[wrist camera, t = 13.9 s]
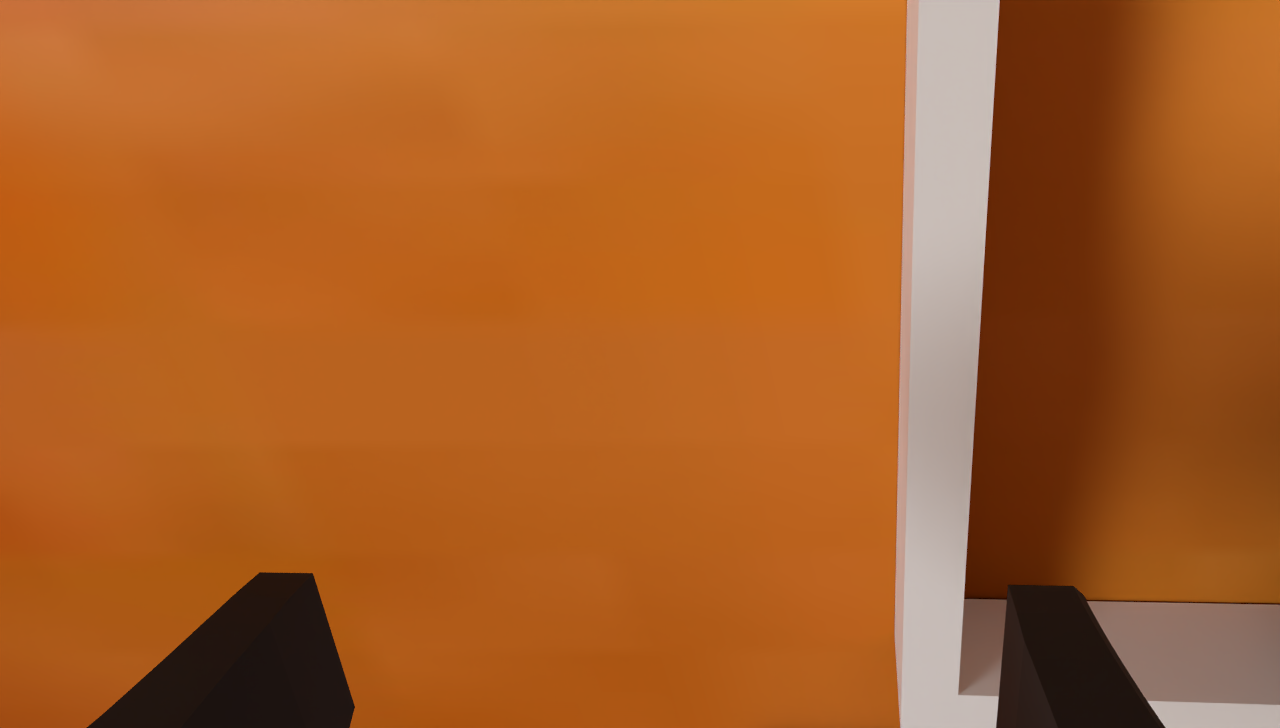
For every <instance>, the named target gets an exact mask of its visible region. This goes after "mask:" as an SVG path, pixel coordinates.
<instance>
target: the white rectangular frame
mask: <svg viewBox="0 0 1280 728" xmlns="http://www.w3.org/2000/svg"><path fill="white" fill-rule="evenodd" d="M999 4H1000V0H907V38H906V88H905V138H904V189H903V239H902V289H901V340H900V390H899V440H898V491H897V541H896V591H895V648H896V664H897V680H898V696H899V712H900V728H996V722H997V711H998V699H999V687H1000V675H1001V663H1002V652H1003V640H1004V628H1005V616H1006V604H1007V600H997V599H964V590H965V573H966V556H967V539H968V523H969V506H970V489H971V473H972V456H973V439H974V422H975V406H976V389H977V372H978V355H979V339H980V322H981V305H982V289H983V272H984V255H985V238H986V222H987V205H988V188H989V171H990V155H991V138H992V121H993V105H994V88H995V71H996V54H997V38H998V21H999ZM1087 603H1088V604H1089V606H1090V608H1091V610H1092V612H1093V614H1094V615H1095V617H1096V619H1097V621H1098V622H1099V624H1100V626H1101V628H1102V630H1103V631H1104V633H1105V635H1106V636H1107V638H1108V640H1109V641H1110V643H1111V645H1112V646H1113V648H1114V650H1115V651H1116V653H1117V655H1118V656H1119V658H1120V659H1121V661H1122V663H1123V664H1124V666H1125V667H1126V669H1127V671H1128V672H1129V674H1130V675H1131V677H1132V678H1133V680H1134V681H1135V683H1136V684H1137V686H1138V688H1139V689H1140V691H1141V692H1142V694H1143V695H1144V697H1145V698H1146V700H1147V701H1148V703H1149V704H1150V706H1151V707H1152V709H1153V710H1154V712H1155V713H1156V715H1157V716H1158V718H1159V719H1160V721H1161V722H1162V723H1163V725H1164V726H1165V728H1280V605H1267V604H1213V603H1159V602H1105V601H1087Z"/></svg>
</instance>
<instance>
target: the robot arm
mask: <svg viewBox="0 0 1280 728" xmlns="http://www.w3.org/2000/svg"><path fill="white" fill-rule="evenodd" d="M354 708H355V706H354V703H353V700H352V697H351V693H350V690H349V687H348V684H347V681H346V678H345V674H344V671H343V668H342V665H341V662H340V658H339V655H338V652H337V649H336V646H335V643H334V639H333V636H332V633H331V630H330V627H329V624H328V620H327V617H326V614H325V611H324V608H323V604H322V601H321V598H320V595H319V592H318V589H317V585H316V582H315V579H314V576H313V573H259V574H258V575H256V576H255V577H254V578H253V579H252V580H251V581H249V582H248V583H247V584H246V585H245V586H244V587H242V588H241V589H240V590H239V591H238V592H237V593H236V594H235V595H233V596H232V597H231V598H230V599H229V600H228V601H227V602H226V603H225V604H224V605H222V606H221V607H220V608H219V609H218V610H217V611H216V612H215V613H214V614H213V615H212V616H211V617H209V618H208V619H207V620H206V621H205V622H204V623H203V624H202V625H201V626H200V627H199V628H198V629H196V630H195V631H194V632H193V633H192V634H191V635H190V636H189V637H188V638H187V639H186V640H185V641H183V642H182V643H181V644H180V645H179V646H178V647H177V648H176V649H175V650H174V651H173V652H172V653H170V654H169V655H168V656H167V657H166V658H165V659H164V660H163V661H162V662H161V663H159V664H158V665H157V666H156V667H155V668H154V669H153V670H152V671H151V672H149V673H148V674H147V675H146V676H145V677H144V678H143V679H142V680H141V681H139V682H138V683H137V684H136V685H135V686H134V687H133V688H132V689H131V690H129V691H128V692H127V693H126V694H125V695H124V696H123V697H122V698H121V699H119V700H118V701H117V702H116V703H115V704H114V705H113V706H112V707H111V708H109V709H108V710H107V711H106V712H105V713H104V714H103V715H101V716H100V717H99V718H98V719H97V720H95V721H94V722H93V723H92V724H91V725H89V726H88V727H87V728H349V727H350V723H351V719H352V715H353V712H354ZM996 728H1165V726H1164V725H1163V723H1162V722H1161V721H1160V719H1159V718H1158V716H1157V715H1156V713H1155V712H1154V710H1153V709H1152V707H1151V706H1150V704H1149V703H1148V701H1147V700H1146V698H1145V697H1144V695H1143V694H1142V692H1141V691H1140V689H1139V688H1138V686H1137V684H1136V683H1135V681H1134V680H1133V678H1132V677H1131V675H1130V674H1129V672H1128V671H1127V669H1126V667H1125V666H1124V664H1123V663H1122V661H1121V659H1120V658H1119V656H1118V655H1117V653H1116V651H1115V650H1114V648H1113V646H1112V645H1111V643H1110V641H1109V640H1108V638H1107V636H1106V635H1105V633H1104V631H1103V630H1102V628H1101V626H1100V624H1099V622H1098V621H1097V619H1096V617H1095V615H1094V614H1093V612H1092V610H1091V608H1090V606H1089V604H1088V603H1087V601H1086V599H1085V597H1084V595H1083V594H1082V593H1080V592H1079V591H1078V590H1077V589H1076V588H1075V587H1074V586H1038V585H1008V593H1007V604H1006V616H1005V628H1004V640H1003V652H1002V663H1001V675H1000V687H999V699H998V711H997V722H996Z"/></svg>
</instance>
